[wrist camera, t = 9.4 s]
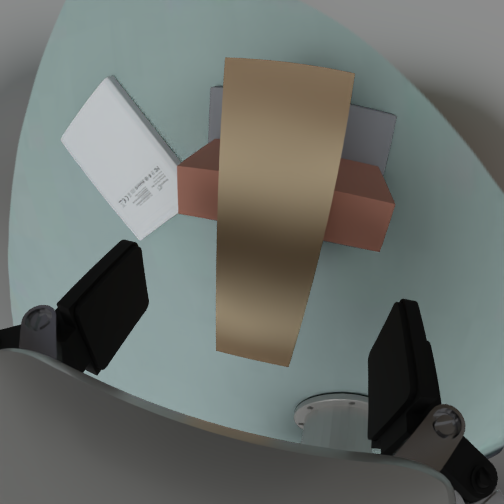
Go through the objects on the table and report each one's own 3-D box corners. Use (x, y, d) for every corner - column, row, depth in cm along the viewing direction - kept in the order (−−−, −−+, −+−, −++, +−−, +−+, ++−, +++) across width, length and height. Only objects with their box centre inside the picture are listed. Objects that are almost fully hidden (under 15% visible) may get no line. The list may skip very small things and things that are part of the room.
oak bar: (297, 315, 19) (288, 366, 16) (235, 302, 20) (216, 350, 16) (346, 72, 11) (354, 73, 8) (253, 60, 12) (225, 57, 8)
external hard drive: (117, 74, 20) (207, 190, 24) (70, 135, 24) (146, 234, 28) (105, 76, 19) (199, 198, 23) (58, 140, 23) (137, 243, 27)
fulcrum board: (361, 241, 23) (368, 303, 17) (211, 213, 25) (173, 263, 19) (393, 114, 17) (423, 136, 12) (215, 86, 19) (167, 97, 13)
